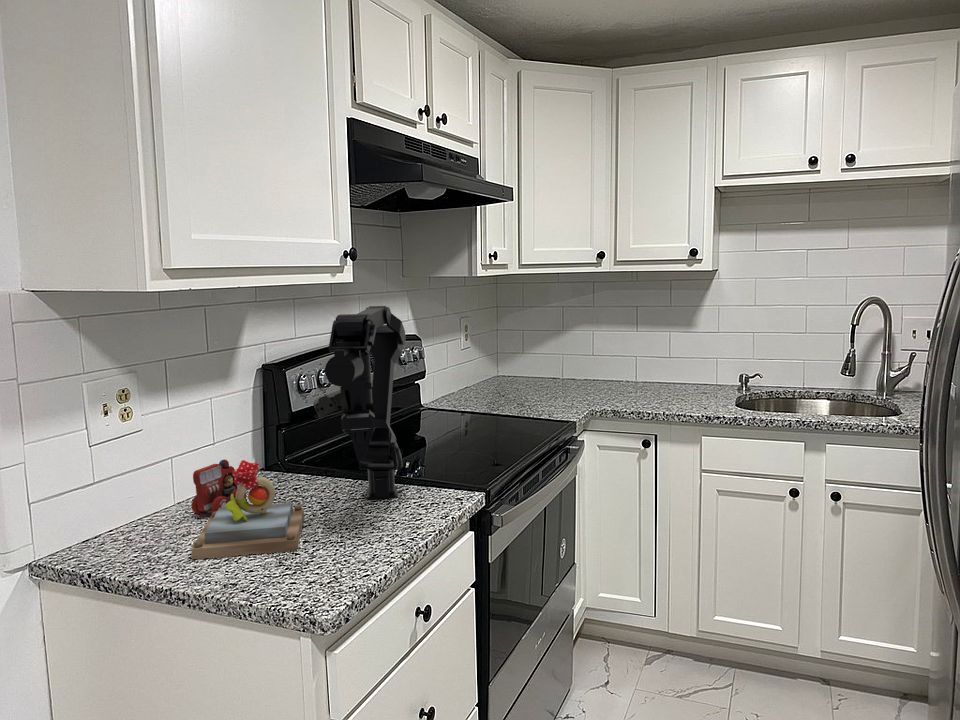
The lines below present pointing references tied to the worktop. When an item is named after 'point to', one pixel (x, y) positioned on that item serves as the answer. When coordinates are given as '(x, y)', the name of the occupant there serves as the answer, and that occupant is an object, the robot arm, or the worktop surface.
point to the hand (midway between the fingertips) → (360, 454)
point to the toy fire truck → (213, 487)
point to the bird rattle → (257, 494)
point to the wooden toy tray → (250, 532)
